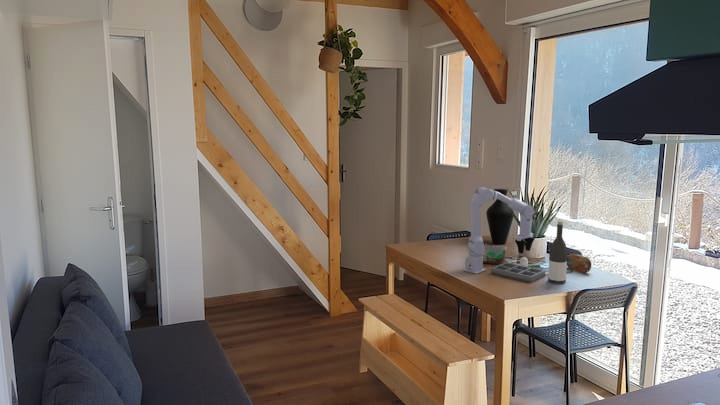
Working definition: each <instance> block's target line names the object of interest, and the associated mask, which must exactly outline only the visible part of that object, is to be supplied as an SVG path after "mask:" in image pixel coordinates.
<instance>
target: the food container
mask: <svg viewBox="0 0 720 405" xmlns="http://www.w3.org/2000/svg"><path fill="white" fill-rule="evenodd" d="M484 246H485V256H486V257H485V258H486V263H487V262H488V263H487V264H490V263H491V264H490V265H500V264H499V263H501V262H503V261H504V262H505V259H506V252H507V250H508V247H507V245H503V246H501V245H489V244H485V245H484Z"/></svg>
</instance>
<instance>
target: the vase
mask: <svg viewBox="0 0 720 405" xmlns="http://www.w3.org/2000/svg"><path fill="white" fill-rule="evenodd" d="M493 190H494V191H497V192H499V193H501V194H503V195H505V196H507V194H508V189H507V188H495V189H493ZM509 209H510V210H511V211H512V212H513V213H514V214H515V212H514V211H515V210H513V209H511V208H509V207H508V204H507V203H505V202H502V201H500V200H498V199H495V201H494V202H493V203H492V204H491V205H490V206H489V207H488V208H487V210H486V211H485V212H486V213H485V215H486V219H487V224H488V228H489V229H488V230H489V235H490V240H491V243H492V244H493V245H495V246H506V244H507V240H508V237H509V234H510V230H511V226H512V224H513V220H514V216H515V215H514V216H513V215H512V213H511V212H510V210H509Z"/></svg>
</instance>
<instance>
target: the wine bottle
mask: <svg viewBox="0 0 720 405" xmlns="http://www.w3.org/2000/svg"><path fill="white" fill-rule="evenodd" d="M556 226H557V227H556V237H555V239H553V242H552V244H551V246H550V248H549V257H548V259H549V260H548V272H547V274H548V276H547V281H548V282H549V283H551V284H556V285H561V284H562V285H564V284H565V283H566V280H567V268H568V266H567V256H568V248H567V245H566V242H565V240H564V238H563V228H564V224H563V221H561V220H559V221H558V220H557V223H556Z"/></svg>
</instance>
